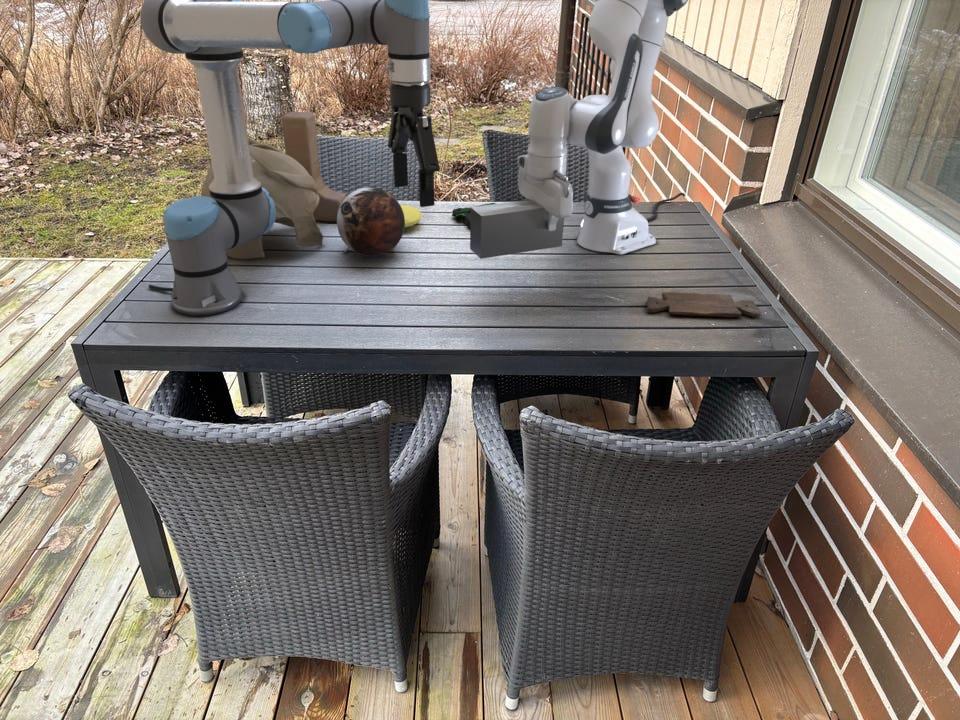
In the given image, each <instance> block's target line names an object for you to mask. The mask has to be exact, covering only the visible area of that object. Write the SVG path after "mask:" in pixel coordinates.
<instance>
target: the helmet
mask: <svg viewBox="0 0 960 720" xmlns="http://www.w3.org/2000/svg"><path fill="white" fill-rule="evenodd" d="M248 142H249V149H250V156H251V163H252V170H253V176H254V177H255V178H256V179H257V180H259V181H260V182H261V186H262V187H263V188H264V189H265V190H267V191H268V193H269V194H270V195H269V197H270V198H272V199H273V201H274V204H275V210H276V216H275V221H274V223H277V224H279V225H283V226H286V227H290V228H294V232H295V246H296V247H299V248H313V247H317V246H318V247H323V241H324V235H323V233H322V231H321V230H320V228H319V225H318V223H317V221H316V220H315V219H314V216H313V212H314V210H315V209H316V208H317V206H318V204H319V200H320V198H319V195H318V193H317V188H316V185H315V182H314V179H313V178H312V176H310V175H309V173H308V172H307V171H306V169H305V168H304V167H303V166H302V165H301V164H300V163H299V162H297V161H296V160H295V159H293V158H292V157H290V156H288V155H286V153H285V152H283V151H281V150H280V149H278V148H276V147H274V146H272V145H269V144H266V143H261V142H259V141H257V140H255V139H252V138H250V137H248ZM213 180H214V173H213V167H212V164H210V166H209V168H208V170H207V173H206V176H205V178H204V179H203V181H202V186H201V192H200V196H206V197H210V191H209V185H210V184H211V183H212V182H213ZM210 198H211V197H210ZM262 236H263V235H261V236H260V237H259V238H257V239H253V240H250V241H248V242H246V243H243V244H241V245H239V246H236V247H234V248H232V249H229V250H227V251H226V255H227V257H229V258H231V259H236V260H237V259H239V260H244V259H256V258H257V259H258V258H265V257H266V255H265V253H264V248H263V244H262V242H263V241H262Z"/></svg>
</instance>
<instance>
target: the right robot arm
mask: <svg viewBox="0 0 960 720" xmlns="http://www.w3.org/2000/svg"><path fill="white" fill-rule="evenodd" d="M688 1H689V0H596V1H595V3H594V6H593V7H592V11H591V13H590V16H589V19H588V20H589V21H588V25H587V27H588V29H587V30H588V34H589V37H590V40H591V41H592V43H593V44H594V45H595V47H596V48H597V49H598V50H599V51H600V52H602V53H603V54H604V55H606V57H608V58H610V59H611V61H610V64H609V71H610V75H611V76H612V81H611V84H610V87H609V88H610V89H609V93H608V94H607V95H606V94H590V95H586V96H584V98H582V99H577V98H575V97H572V96H571V95H570V93H569V91H568V90H567V89H566V88H564V87H560V86H551V87H550V86H549V87H544V88H541V89H539V90H537V91H536V92H535V93H534V95H533V96H532V100H531V104H530V110H529V117H528V118H529V119H528V135H529V144H528V147H527V154H523V155H518V157H517V165H518V166H519V167H518V173H517V174H518V175H517V181H518V182H517V183H518V191H519V194H520V195H521V196H523V197H524V198H526V200H531V199H532V200H533V201H535V202H536V203H538V204H539V205H541V206H542V207H544V210H546V211H547V212H549V217H550V219H549V221H548V222H547V223H546V228H547V229H548V230H549V231H554V230H555V229H556V223H557V221H558V219H559V218H564V219H565V218H566V219H567V218H570V217H571V216H572V214H573V211H574V209H573V207H574V206H573V205H574V191H573V186H572V184H571V183H570V182H569V177H568V176H567V175H566V174H567V161H568V147H567V145H572V146H574V147H579V148H584V149H586V151H587V157H588V182H587V191H586V192H585V196H584V216H583V219H582V221H581V223H580V227H581V228H580V231H579V234H578V237H577V239H576V242H577V244H578V245H579V246H580V247H582V248H584V249H587V250H590V251H594V252H600V253H611V254H616V255H625V254H628V253H631V252H634V251H637V250H640V249H643V248H646V247H650V246H652V245H655V244H656V243H657V239H656V237H655V236H654V235H653V234H651V233H650V232H649V230H650V229H649V228H650V226H649V222H650V221H652V220H654V219H655V218H656V217H657V215H658V213H657V209H658V206H659V205H660V204H662V203H663V204H664V203H666V202H671V201H675V200H676V199H677V198H679V197H681V196H682V197H684V198H685V197H686V194H685V193H684V192H679V193H677V194H676V195H675V196H674V197H670V198H666V199H661V200H659V201H657V202H656V203H655V204H654V205H653V206H654V207H653V215H652V216H650V217H648V218H646V217H645V216H644V215H642V214H641V213H640V212H638V211H637V210H636V208H634V207H633V203H634V205H639V203H640V202H641V198H640V197H639V196H637V195H636V194H635V195H631V194H630V192H629V191H630V183H631V175H632V166H631V163H630V161H629V160H628V158H627V157H626V154H625V152H624V149H623V148H625V149H644V148H647V147H649V146H650V145H651V144H653V142H654V140H655V139H656V137H657V136H658V133H659V129H660V120H659V117H658V114H657V112H656V110H655V108H654V105H653V97H652V86H653V80H654V79H653V78H654V74H655V70H656V67H657V63H658V59H659V56H660V54H661V50H662V47H663V44H664V41H665V37H666V32H667V27H668V22H669V17H672V15H673V14H674V13H675V12H678V11H679V10H681V9H682V8H683V7H685V6H686V4H687V3H688Z"/></svg>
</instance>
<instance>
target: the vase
mask: <svg viewBox="0 0 960 720" xmlns="http://www.w3.org/2000/svg"><path fill="white" fill-rule="evenodd" d="M400 206H401V208H402V210H403V213H404V218H405V228H404V229H407V228H410V227H412V226H413V225H416V224H418V223H419V222H420V221H421V219H422V217H423V215H422V212H421V211H420V210H419V209H418V208H417V207H414V206H411V205H407V204H400Z"/></svg>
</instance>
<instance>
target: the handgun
mask: <svg viewBox="0 0 960 720" xmlns="http://www.w3.org/2000/svg"><path fill="white" fill-rule="evenodd" d="M492 204H497V203H495V202H489V203H485V204H479V205H478V206H484V205H492ZM476 206H477V205H474V206H473V207H476ZM470 207H471V206H469V207H468V206H467V207H458V208H453V210H452V213H451V216H452V217H453V218H454V220H455V221H456V222H463V223H465V224H466V225H467V227H468V228H469V229H470Z"/></svg>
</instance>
